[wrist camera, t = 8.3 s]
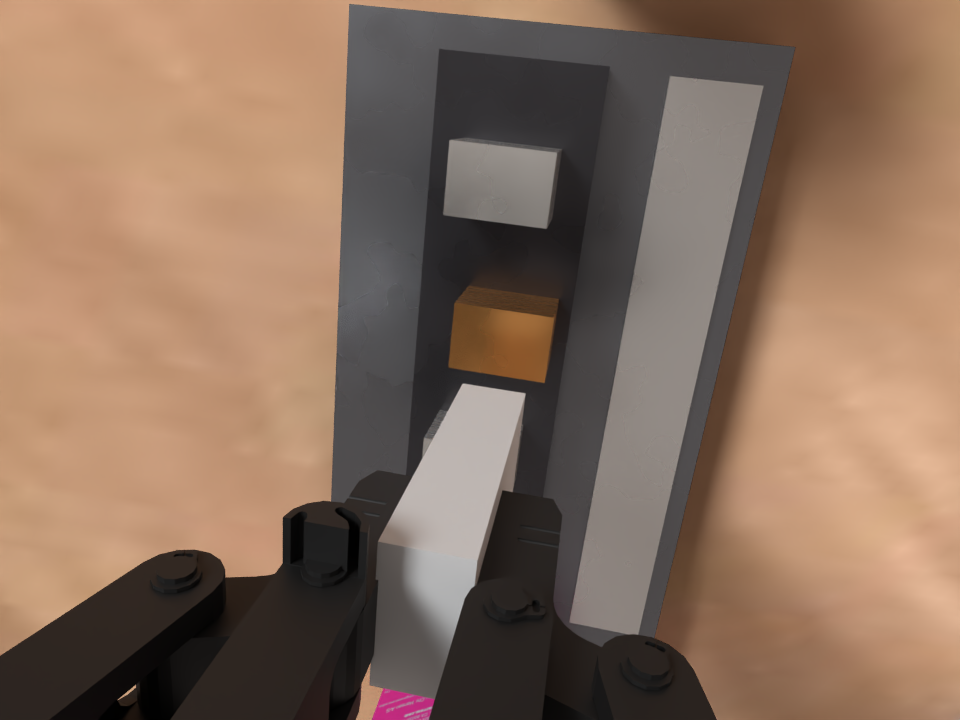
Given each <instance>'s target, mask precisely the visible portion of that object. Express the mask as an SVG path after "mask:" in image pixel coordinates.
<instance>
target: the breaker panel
mask: <svg viewBox="0 0 960 720" xmlns="http://www.w3.org/2000/svg"><path fill="white" fill-rule="evenodd" d="M794 51H795V47H790V46H779V45H769V44H759V43H748V42H738V41H727V40H717V39H707V38H696V37H686V36H676V35H665V34H655V33H644V32H634V31H624V30H613V29H603V28H593V27H582V26H572V25H561V24H551V23H541V22H530V21H520V20H510V19H499V18H489V17H478V16H468V15H458V14H447V13H437V12H427V11H416V10H406V9H395V8H385V7H375V6H364V5H354V4H349V29H348V56H347V84H346V111H345V138H344V166H343V193H342V221H341V248H340V275H339V303H338V330H337V358H336V385H335V412H334V440H333V467H332V495H331V502H341V503H344V502H345V501H346V500H347V498H349V495H350V494H351V492H352V491H353V489H354V488H355V486H356V485H357V483H358V482H359V481H360V480H362V479H363V478H365V477H367V476H368V475H370V474H372V473H374V472H375V471H377V470H379V471H385V472H391V473H397V474H402V475H408V476H413V475H414V473H415V471H416V470H417V468H418V466H419V464H420V462H421V460H422V458H423V457H424V455H425V453H426V451H427V449H428V447H429V445H430V444H431V442H432V440H433V438H434V436H435V434H436V432H437V430H438V429H439V427H440V425H441V423H442V421H443V419H444V417H445V416H446V414H447V412H448V410H449V408H450V406H451V404H452V403H453V401H454V399H455V397H456V395H457V393H458V391H459V390H460V388H461V386H462V384H469V385H475V386H481V387H488V388H494V389H501V390H507V391H513V392H520V393H526V395H525V403H524V410H523V418H522V425H521V433H520V441H519V448H518V456H517V463H516V471H515V478H514V486H513V492H516V493H521V494H527V495H533V496H538V497H544V498H550V499H553V500H554V501H555V503H556V505H557V507H558V508H559V510H560V512H561V514H562V523H561V532H560V541H559V551H558V560H557V569H556V578H555V588H554V597H553V600H554V608H555V610H556V613H557V615H558V617H559V618H560V619H561V621H562V622H563V623H564V624H565V626H567V627H568V628H569V629H570V630H571V631H573V632H574V633H575V634H577V635H578V636H580V637H582V638H584V639H586V640H587V641H589V642H592V643H594V644H596V645H598V646H600V647H602V646H603V645H604V643H605V642H607V641H609V640H611V639H612V638H614V637H616V636H621V635H629V634H636V635H642V636H648V637H652V638H654V637H655V633H656V629H657V625H658V620H659V616H660V612H661V608H662V604H663V599H664V595H665V591H666V587H667V583H668V579H669V574H670V570H671V566H672V562H673V558H674V553H675V549H676V545H677V541H678V537H679V532H680V528H681V524H682V520H683V516H684V512H685V507H686V503H687V499H688V495H689V491H690V486H691V482H692V478H693V474H694V470H695V465H696V461H697V457H698V453H699V449H700V445H701V440H702V436H703V432H704V428H705V424H706V419H707V415H708V411H709V407H710V403H711V398H712V394H713V390H714V386H715V382H716V378H717V373H718V369H719V365H720V361H721V357H722V352H723V348H724V344H725V340H726V336H727V331H728V327H729V323H730V319H731V315H732V311H733V306H734V302H735V298H736V294H737V290H738V285H739V281H740V277H741V273H742V269H743V264H744V260H745V256H746V252H747V248H748V244H749V239H750V235H751V231H752V227H753V223H754V218H755V214H756V210H757V206H758V202H759V197H760V193H761V189H762V185H763V181H764V177H765V172H766V168H767V164H768V160H769V156H770V151H771V147H772V143H773V139H774V135H775V130H776V126H777V122H778V118H779V114H780V110H781V105H782V101H783V97H784V93H785V89H786V84H787V80H788V76H789V72H790V68H791V63H792V59H793V55H794Z"/></svg>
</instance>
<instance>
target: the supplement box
mask: <svg viewBox="0 0 960 720" xmlns="http://www.w3.org/2000/svg"><path fill="white" fill-rule="evenodd" d="M434 700H435V699H431V698H427V697H422V696H418V695H413V694H408V693H404V692H399V691H394V690H390V689H385V688H384V689H383V691H382V694H381V696H380V699H379V702H378V704H377V707H376V710H375V712H374V715H373V718H372V720H429V717H430V714H431V710H432V707H433V704H434Z"/></svg>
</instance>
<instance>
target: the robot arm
mask: <svg viewBox="0 0 960 720" xmlns="http://www.w3.org/2000/svg"><path fill="white" fill-rule="evenodd" d="M525 395H526V393H520V392H513V391H507V390H501V389H494V388H488V387H481V386H475V385H469V384H462V386H461V388H460V390H459V391H458V393H457V395H456V397H455V399H454V401H453V403H452V404H451V406H450V408H449V410H448V412H447V414H446V416H445V417H444V419H443V421H442V423H441V425H440V427H439V429H438V430H437V432H436V434H435V436H434V438H433V440H432V442H431V444H430V445H429V447H428V449H427V451H426V453H425V455H424V457H423V458H422V460H421V462H420V464H419V466H418V468H417V470H416V471H415V473H414V475H413V476H408V475H402V474H397V473H391V472H385V471H379V470H377V471H375V472H374V473H372V474H370V475H368V476H367V477H365V478H363V479H362V480H360V481H359V482H358V483H357V485H356V486H355V488H354V489H353V491H352V492H351V494H350V495H349V498H347V500H346V501H345V502H344V503H341V502H330V501H321V502H314V503H307V504H305V505H302V506H300V507H297V508H295V509H293V510H291V511H290V512H289V513H288V514H286V515H285V516H284V517H283V564H282V565H281V567H280V568H279V569H278V571H277V572H276V573H275V574H272V575H267V576H257V577H230V578H225V568H224V566H223V564H222V562H221V560H220V559H218V558H217V557H215V556H214V555H212V554H211V553H207V552H203V551H198V550H176V551H172V552H168V553H164V554H160V555H157V556H155V557H153V558H151V559H149V560H147V561H145V562H143V563H142V564H140V565H139V566H137V567H135V568H134V569H132V570H131V571H129V572H128V573H126V574H125V575H123V576H122V577H120V578H119V579H117V580H116V581H114V582H113V583H111V584H109V585H108V586H106V587H105V588H103V589H102V590H100V591H99V592H97V593H96V594H94V595H93V596H91V597H90V598H88V599H87V600H85V601H83V602H82V603H80V604H79V605H77V606H76V607H74V608H73V609H71V610H70V611H68V612H67V613H65V614H64V615H62V616H61V617H59V618H57V619H56V620H54V621H53V622H51V623H50V624H48V625H47V626H45V627H44V628H42V629H41V630H39V631H38V632H36V633H34V634H33V635H31V636H30V637H28V638H27V639H25V640H24V641H22V642H21V643H19V644H18V645H16V646H15V647H13V648H12V649H10V650H8V651H7V652H5V653H4V654H2V655H1V656H0V720H356V717H357V715H358V712H359V707H360V700H361V683H362V681H363V679H364V676H365V674H366V672H367V669H368V667H369V665H370V663H371V668H370V685H371V686H376V687H380V688H385V689H390V690H394V691H399V692H404V693H408V694H413V695H418V696H422V697H427V698H431V699H435V700H434V704H433V707H432V710H431V714H430V717H429V720H717V719H716V717H715V715H714V713H713V710H712V708H711V706H710V704H709V702H708V700H707V697H706V695H705V693H704V691H703V689H702V687H701V684H700V682H699V680H698V678H697V676H696V674H695V672H694V670H693V668H692V667H691V666H690V664H689V663H688V661H687V660H686V658H685V657H684V656H683V655H682V654H680V653H679V652H678V651H676V650H675V649H674V648H673V647H671V646H670V645H668V644H666V643H664V642H661V641H659V640H657V639H655V638H652V637H648V636H642V635H636V634H629V635H621V636H616V637H614V638H612V639H611V640H609V641H607V642H605V643H604V645H603V646H602V647H600V646H598V645H596V644H594V643H592V642H589V641H587V640H586V639H584V638H582V637H580V636H578V635H577V634H575V633H574V632H573V631H571V630H570V629H569V628H568V627H567V626H565V624H564V623H563V622H562V621H561V619H560V618H559V617H558V615H557V613H556V610H555V608H554V600H553V597H554V588H555V578H556V569H557V560H558V551H559V541H560V532H561V523H562V514H561V512H560V510H559V508H558V507H557V505H556V503H555V501H554V500H553V499H550V498H544V497H538V496H533V495H527V494H521V493H516V492H513V486H514V478H515V471H516V463H517V456H518V448H519V441H520V433H521V425H522V418H523V410H524V403H525ZM135 685H136V688H135V689H134V690H133V691H132V692H130V693H129V694H128V695H126V696H125V697H123V698H121V699H120V700H118V699H119V698H120V697H121V696H122V695H124V694H125V693H126V692H127V691H128V690H130V689H131V688H132V687H133V686H135Z"/></svg>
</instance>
